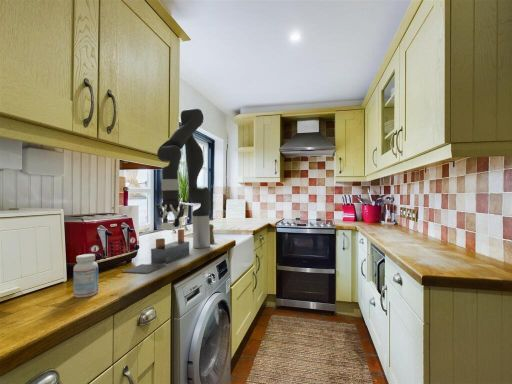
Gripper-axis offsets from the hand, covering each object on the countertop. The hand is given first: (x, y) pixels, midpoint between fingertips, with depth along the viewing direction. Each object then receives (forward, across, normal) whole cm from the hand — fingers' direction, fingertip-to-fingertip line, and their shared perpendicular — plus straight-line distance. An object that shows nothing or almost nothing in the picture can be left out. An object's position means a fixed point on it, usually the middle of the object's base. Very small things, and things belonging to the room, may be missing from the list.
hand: (171, 226), depth 123 cm
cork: (+15, 0, -42) cm, 45 cm away
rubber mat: (+14, 0, +19) cm, 24 cm away
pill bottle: (+14, -1, +47) cm, 49 cm away
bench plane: (+14, 0, 0) cm, 14 cm away
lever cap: (+1, 0, 0) cm, 1 cm away
